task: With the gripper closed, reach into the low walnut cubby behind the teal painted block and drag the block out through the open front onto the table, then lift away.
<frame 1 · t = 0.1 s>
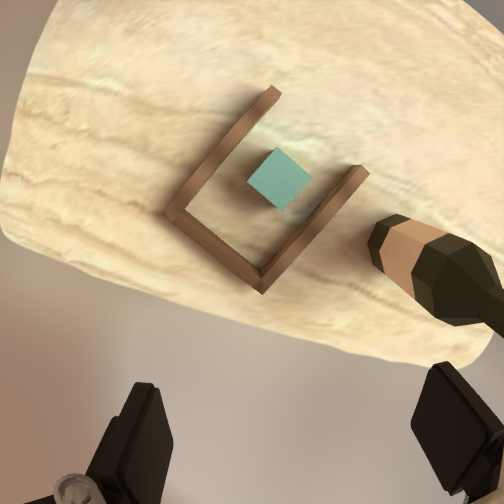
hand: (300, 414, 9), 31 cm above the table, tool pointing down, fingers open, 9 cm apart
teal block: (275, 178, 38), on the table
wine bottle: (393, 243, 40), on the table
walnut cubby: (270, 184, 38), on the table
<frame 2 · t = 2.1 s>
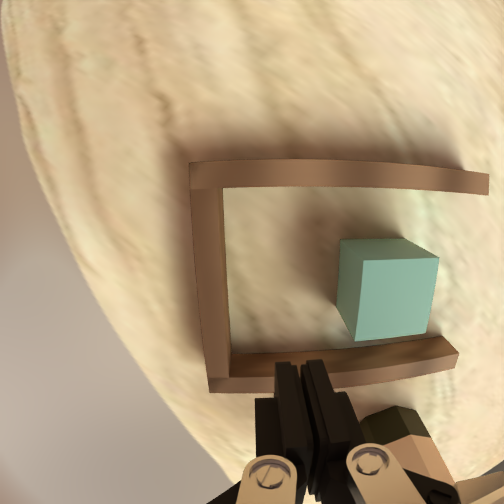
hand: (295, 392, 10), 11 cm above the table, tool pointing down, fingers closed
teal block: (370, 272, 21), on the table
wine bottle: (382, 432, 26), on the table
walnut cubby: (358, 273, 21), on the table
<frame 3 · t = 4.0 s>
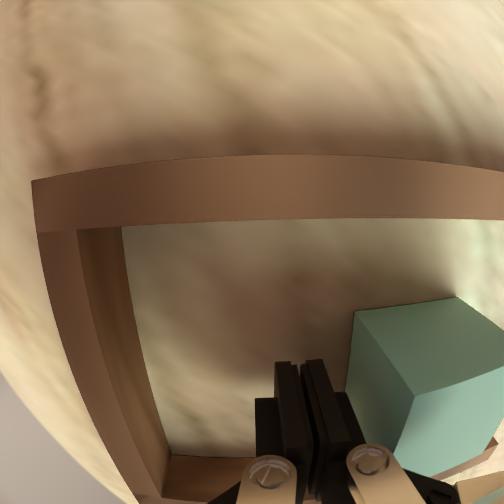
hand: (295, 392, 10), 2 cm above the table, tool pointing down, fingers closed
teal block: (401, 356, 12), on the table, touching gripper
walnut cubby: (368, 357, 12), on the table
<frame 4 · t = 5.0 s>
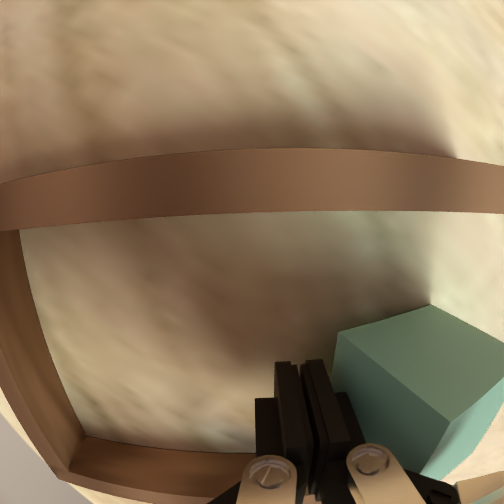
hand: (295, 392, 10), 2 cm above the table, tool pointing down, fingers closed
teal block: (378, 371, 11), point 1 cm above the table, tilted 20°, touching gripper
walnut cubby: (237, 361, 12), on the table
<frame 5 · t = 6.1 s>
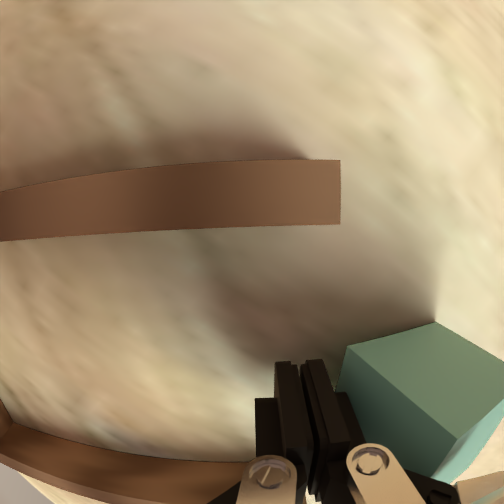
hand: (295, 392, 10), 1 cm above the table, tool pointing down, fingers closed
teal block: (381, 385, 11), point 1 cm above the table, tilted 20°, touching gripper
walnut cubby: (96, 365, 12), on the table
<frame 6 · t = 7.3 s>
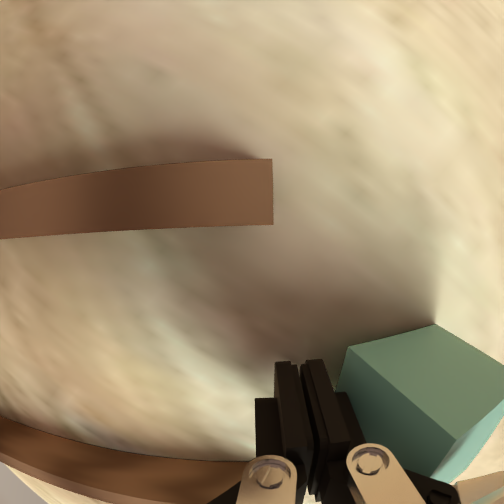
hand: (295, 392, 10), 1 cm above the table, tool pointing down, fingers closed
teal block: (380, 386, 11), point 1 cm above the table, tilted 19°, touching gripper
walnut cubby: (67, 360, 12), on the table
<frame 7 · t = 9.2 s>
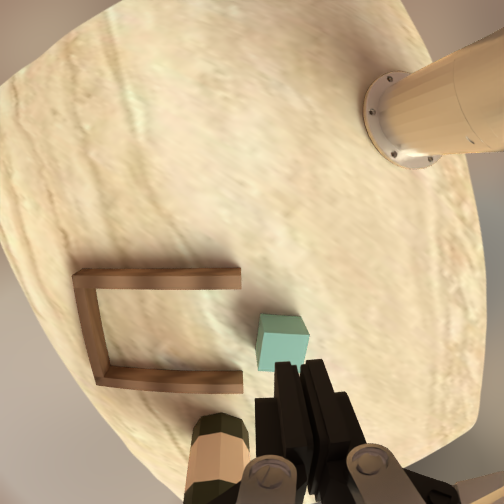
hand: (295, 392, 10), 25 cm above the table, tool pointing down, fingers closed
teal block: (277, 333, 38), on the table
wine bottle: (220, 430, 41), on the table
walnut cubby: (168, 328, 37), on the table
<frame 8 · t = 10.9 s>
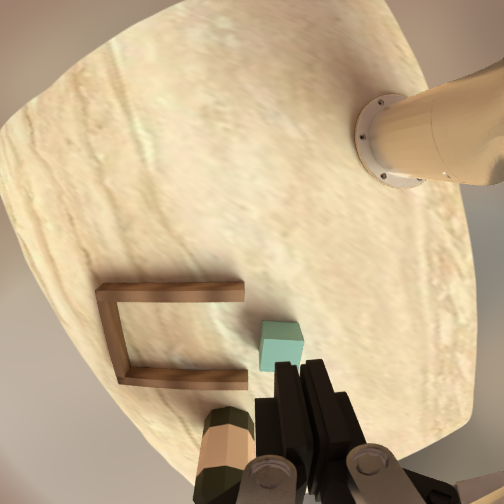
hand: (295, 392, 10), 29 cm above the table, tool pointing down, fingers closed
teal block: (278, 337, 42), on the table
wine bottle: (229, 422, 47), on the table
walnut cubby: (182, 334, 42), on the table
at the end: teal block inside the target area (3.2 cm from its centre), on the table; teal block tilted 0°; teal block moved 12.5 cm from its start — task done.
